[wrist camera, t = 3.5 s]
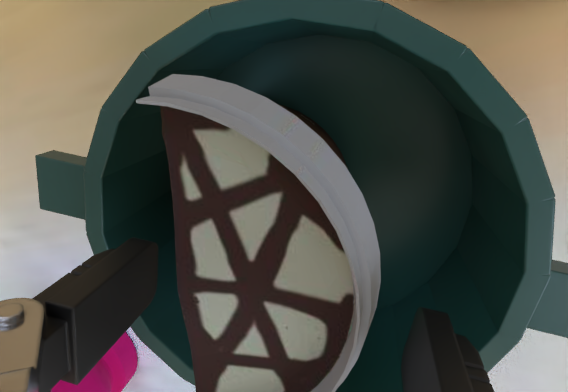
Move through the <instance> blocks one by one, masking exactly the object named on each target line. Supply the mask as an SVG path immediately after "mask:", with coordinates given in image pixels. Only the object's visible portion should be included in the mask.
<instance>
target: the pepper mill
mask: <svg viewBox="0 0 568 392" xmlns="http://www.w3.org/2000/svg"><path fill="white" fill-rule="evenodd" d="M136 368H137V353H136V349H135V347H134V344H133V342H132V340H131V339H130V338H129V336H128V335H127V333H126V332H125V333H124V334H123V335H122V336H121V337H120V338H119V339H118V340H117V342H116V343H115V344H114V345H113V346H112V347H111V348H110V349H109V350H108V352H107V353H106V354H105V355H104V356H103V357H102V358H101V359H100V360H99V362H98V363H97V364H96V365H95V366H94V367H93V368H92V369H91V371H90V372H89V373H88V374H87V375H86V376H85V377H84V378H83V379H82V381H81V382H80V383H79V384H78V385H75V384H72V383H68V382H65V381H62V380H60V381H59V382H58V383H57V384H56V385H55V386H54V387H53V388H52V392H121V391H122V390H123V388H124V387H125V386H126V384H127V383H128V382H129V380H130V379H131V378H132V376H133V375H134V373H135V371H136Z"/></svg>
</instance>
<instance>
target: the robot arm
mask: <svg viewBox="0 0 568 392" xmlns="http://www.w3.org/2000/svg"><path fill="white" fill-rule="evenodd" d="M157 278H158V245H157V243H156V242H152V241H148V240H144V239H139V238H135V237H132V238H130V239H128V240H127V241H125V242H124V243H123V244H121V245H120V246H119V247H117V248H116V249H113V248H111V249H109V250H106V251H103V252H101V253H98V254H95V255H94V256H92V257H91V258H89V259H88V260H87V261H85V262H84V263H82V266H80V265H79V266H78V267H77V268H75V269H74V270H72V272H71V273H68V274H67V275H65V276H64V277H62V278H61V279H60V280H58V281H57V282H55V283H54V284H52V285H51V286H50V287H48V288H47V289H45V290H44V291H43V292H41V293H40V294H38V295H37V296H35V297H34V298H33V299H29V298H14V299H8V300H4V301H0V392H52V388H53V387H54V386H55V385H56V384H57V383H58V382H59V381H60V380H62V381H65V382H68V383H72V384H75V385H78V384H79V383H80V382H81V381H82V379H83V378H84V377H85V376H86V375H87V374H88V373H89V372H90V371H91V369H92V368H93V367H94V366H95V365H96V364H97V363H98V362H99V360H100V359H101V358H102V357H103V356H104V355H105V354H106V353H107V352H108V350H109V349H110V348H111V347H112V346H113V345H114V344H115V343H116V342H117V340H118V339H119V338H120V337H121V336H122V335H123V334H124V333H125V331H126V330H127V329H128V328H129V327H130V326H131V325H132V324H133V323H134V321H135V320H136V319H137V318H138V317H139V316H140V315H141V314H142V313H143V311H144V310H145V309H146V308H147V307H148V306H149V305H150V303H151V302H152V300H153V298H154V296H155V293H156V289H157ZM401 372H402V381H403V390H404V392H494V390H493V388H492V385H491V384H489V381H490V380H489V378H488V375H487V372H486V370H484V365H483V362H482V360H481V357H480V355H479V352H478V351H477V349H476V348H475V347H474V346H473V345H472V344H471V342H470V341H469V340H468V339H467V338H466V337H465V336H462V335H458V334H455V333H454V330H453V327H452V324H451V321H450V318H449V315H448V314H447V313H445V312H441V311H436V310H432V309H428V308H424V307H419V308H418V309H417V311H416V314H415V317H414V320H413V323H412V326H411V329H410V332H409V335H408V338H407V341H406V344H405V347H404V351H403V356H402V364H401Z"/></svg>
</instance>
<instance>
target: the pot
mask: <svg viewBox="0 0 568 392" xmlns="http://www.w3.org/2000/svg"><path fill="white" fill-rule="evenodd" d="M172 74H181V75H195V76H204V77H208V78H212V79H216V80H220V81H224V82H228V83H233V84H236V85H238V86H241V87H243V88H245V89H248V90H250V91H252V92H255V93H257V94H259V95H262V96H264V97H267V98H268V99H270V100H271V101H273V102H275V103H276V104H280V105H284V106H287V107H289V108H292V109H294V110H296V111H299V112H301V113H302V114H304V115H305V116H307V117H309V118H310V119H312V120H313V121H314V122H316V123H317V124H318V125H319V126H320V127H322V128H323V129H324V130H325V131H326V132H327V134H328V135H329V136H330V137H331V138H332V139H333V140H334V142H335V143H336V145H337V147H338V148H339V150H340V151H341V153H342V155H343V157H344V160H345V162H346V165H347V167H348V171H349V173H350V174H351V176H352V177H353V179H354V181H355V182H356V184H357V186H358V187H359V189H360V191H361V192H362V194H363V197H364V199H365V202H366V204H367V207H368V209H369V212H370V214H371V217H372V220H373V222H374V226H375V230H376V235H377V240H378V245H379V250H380V269H381V283H380V289H379V295H378V301H377V307H376V310H375V313H374V316H373V319H372V322H371V325H370V327H369V330H368V333H367V336H366V339H365V341H364V344H363V347H362V349H361V352H360V354H359V357H358V360H357V361H356V363H355V365H354V366H353V368H352V369H351V371H350V372H349V374H348V376H347V377H346V379H345V380H344V382H343V383H342V384H341V385H340V386H339V387H338V388H337V390H336V391H335V392H404V390H403V381H402V372H401V364H402V356H403V351H404V347H405V344H406V341H407V338H408V335H409V332H410V329H411V326H412V323H413V320H414V317H415V314H416V311H417V309H418V308H419V307H424V308H428V309H432V310H436V311H441V312H445V313H447V314H448V315H449V318H450V321H451V324H452V327H453V330H454V333H455V334H458V335H462V336H465V337H466V338H467V339H468V340H469V341H470V342H471V344H472V345H473V346H474V347H475V348H476V349H477V351H478V352H479V355H480V357H481V360H482V362H483V365H484V370H486V372H487V373H488V372H489V371H490V370H491V369H492V368H493V367H494V366H495V365H496V364H497V363H498V362H499V361H500V360H501V359H502V358H503V357H504V356H505V355H506V354H507V353H508V352H509V351H510V350H511V349H512V348H513V347H514V346H515V345H516V344H517V343H518V342H519V340H521V338H522V336H523V334H524V332H525V330H526V328H530V329H534V330H538V331H542V332H546V333H550V334H554V335H558V336H562V337H566V338H568V263H565V262H560V261H555V260H552V247H553V231H554V215H555V198H554V197H555V194H554V191H553V188H552V185H551V182H550V179H549V176H548V173H547V170H546V168H545V165H544V162H543V159H542V156H541V153H540V150H539V147H538V144H537V141H536V138H535V135H534V133H533V130H532V127H531V124H530V121H529V119H528V118H527V115H526V114H525V112H524V111H523V110H522V109H521V108H520V107H519V105H518V104H517V103H516V102H515V101H514V100H513V98H512V97H511V96H510V95H509V94H508V93H507V91H506V90H505V89H504V88H503V87H502V86H501V84H500V83H499V82H498V81H497V80H496V79H495V78H494V76H493V75H492V74H491V73H490V72H489V71H488V69H487V68H486V67H485V66H484V65H483V64H482V62H481V61H480V60H479V59H478V58H477V57H476V55H475V54H474V53H473V52H472V51H471V50H470V49H469V48H467V46H466V45H464V44H462V43H460V42H458V41H456V40H455V39H453V38H451V37H449V36H447V35H445V34H443V33H442V32H440V31H438V30H436V29H434V28H432V27H431V26H429V25H427V24H425V23H423V22H421V21H419V20H418V19H416V18H414V17H412V16H410V15H408V14H406V13H405V12H403V11H401V10H399V9H397V8H395V7H394V6H392V5H390V4H388V3H384V2H383V1H378V0H239V1H235V2H230V3H226V4H221V5H217V6H212V7H210V8H209V9H205V10H204V11H202V12H201V13H199V14H198V15H196V16H195V17H193V18H192V19H190V20H189V21H187V22H185V23H184V24H182V25H181V26H179V27H178V28H176V29H175V30H173V31H172V32H170V33H169V34H167V35H166V36H164V37H163V38H161V39H160V40H158V41H157V42H155V43H154V44H152V45H150V46H149V47H147V48H146V49H145V50H144V51H142V52H141V53H140V55H139V56H138V58H137V59H136V60H135V62H134V63H133V64H132V66H131V67H130V69H129V70H128V71H127V73H126V74H125V76H124V77H123V78H122V80H121V81H120V82H119V84H118V85H117V87H116V88H115V89H114V91H113V92H112V94H111V95H110V96H109V98H108V99H107V100H106V102H105V103H104V105H103V106H102V109H101V110H100V114H99V117H98V121H97V124H96V128H95V131H94V135H93V138H92V142H91V145H90V149H89V152H88V156H87V158H86V157H82V156H77V155H73V154H68V153H64V152H59V151H55V150H53V151H49V152H46V153H42V154H39V155H36V156H35V157H36V168H37V179H38V191H39V202H40V209H43V210H48V211H52V212H56V213H60V214H64V215H68V216H72V217H76V218H80V219H84V220H86V232H87V237H88V240H89V242H90V245H91V248H92V251H93V254H94V255H95V254H98V253H101V252H103V251H106V250H109V249H111V248H113V249H116V248H117V247H119V246H120V245H121V244H123V243H124V242H125V241H127V240H128V239H130V238H132V237H135V238H139V239H144V240H148V241H152V242H156V243H157V245H158V278H157V289H156V293H155V296H154V298H153V300H152V302H151V303H150V305H149V306H148V307H147V308H146V309H145V310H144V311H143V313H142V314H141V315H140V316H139V317H138V318H137V319H136V320H135V321H134V323H133V324H132V325H131V328H132V329H133V331H134V332H135V334H136V335H137V337H139V339H140V340H141V341H142V342H143V343H144V344H145V345H146V346H147V347H149V348H150V349H151V350H152V351H153V352H154V353H155V354H156V355H157V356H158V357H159V358H161V359H162V360H163V361H164V362H165V363H166V364H167V365H168V366H169V367H170V368H171V369H173V370H174V371H175V372H176V373H177V374H178V375H179V376H180V377H182V378H183V379H184V380H186V381H188V382H190V383H191V384H193V385H195V378H194V371H193V363H192V355H191V348H190V344H189V339H188V334H187V330H186V326H185V322H184V318H183V314H182V309H181V304H180V299H179V294H178V288H177V273H176V256H175V228H174V214H173V200H172V191H171V182H170V173H169V164H168V158H167V152H166V146H165V142H164V139H163V136H162V119H161V110H160V106H159V105H149V104H139V103H136V100H137V99H140V98H144V97H148V96H150V94H149V88H148V87H149V86H151V85H153V84H155V83H157V82H158V81H160V80H162V79H164V78H166V77H168V76H170V75H172Z"/></svg>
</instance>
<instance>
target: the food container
mask: <svg viewBox="0 0 568 392" xmlns="http://www.w3.org/2000/svg"><path fill="white" fill-rule="evenodd" d="M148 88H149V94H150V96H148V97H144V98H140V99H137V100H136V103H139V104H149V105H159V106H160V110H161V119H162V136H163V139H164V142H165V146H166V152H167V158H168V164H169V173H170V182H171V191H172V200H173V214H174V228H175V256H176V273H177V288H178V294H179V299H180V304H181V309H182V314H183V318H184V322H185V326H186V330H187V334H188V339H189V344H190V348H191V355H192V363H193V371H194V378H195V386H196V392H335V391H336V390H337V388H338V387H339V386H340V385H341V384H342V383H343V382H344V380H345V379H346V377H347V376H348V374H349V372H350V371H351V369H352V368H353V366H354V365H355V363H356V361H357V360H358V357H359V354H360V352H361V349H362V347H363V344H364V341H365V339H366V336H367V333H368V330H369V327H370V325H371V322H372V319H373V316H374V313H375V310H376V307H377V301H378V295H379V289H380V283H381V269H380V250H379V245H378V240H377V235H376V230H375V226H374V222H373V220H372V217H371V214H370V212H369V209H368V207H367V204H366V202H365V199H364V197H363V194H362V192H361V191H360V189H359V187H358V186H357V184H356V182H355V181H354V179H353V177H352V176H351V174H350V173H349V171H348V167H347V165H346V162H345V160H344V157H343V155H342V153H341V151H340V150H339V148H338V147H337V145H336V143H335V142H334V140H333V139H332V138H331V137H330V136H329V135H328V134H327V132H326V131H325V130H324V129H323V128H322V127H320V126H319V125H318V124H317V123H316V122H314V121H313V120H312V119H310V118H309V117H307V116H305V115H304V114H302V113H301V112H299V111H296V110H294V109H292V108H289V107H287V106H284V105H280V104H276V103H275V102H273V101H271V100H270V99H268V98H267V97H264V96H262V95H259V94H257V93H255V92H252V91H250V90H248V89H245V88H243V87H241V86H238V85H236V84H233V83H228V82H224V81H220V80H216V79H212V78H208V77H204V76H195V75H181V74H172V75H170V76H168V77H166V78H164V79H162V80H160V81H158V82H157V83H155V84H153V85H151V86H149V87H148Z"/></svg>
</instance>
